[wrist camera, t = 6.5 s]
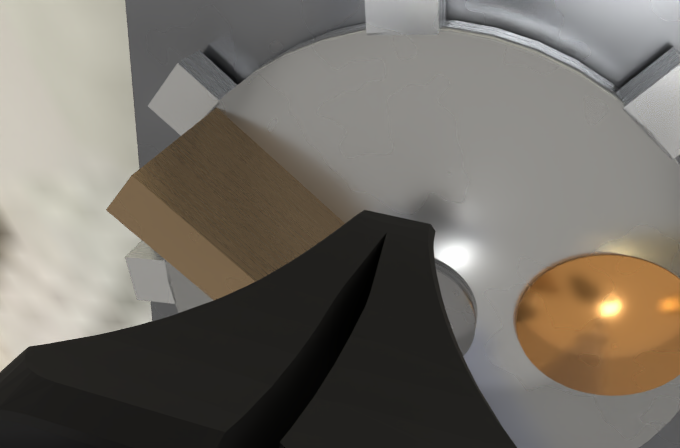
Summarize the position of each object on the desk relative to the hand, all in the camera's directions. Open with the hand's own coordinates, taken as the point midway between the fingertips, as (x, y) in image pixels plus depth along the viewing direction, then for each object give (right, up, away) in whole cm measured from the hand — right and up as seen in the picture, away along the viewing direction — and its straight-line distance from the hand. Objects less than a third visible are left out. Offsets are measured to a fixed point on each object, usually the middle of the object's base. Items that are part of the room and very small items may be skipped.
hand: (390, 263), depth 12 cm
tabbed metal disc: (+1, -1, +7) cm, 7 cm away
